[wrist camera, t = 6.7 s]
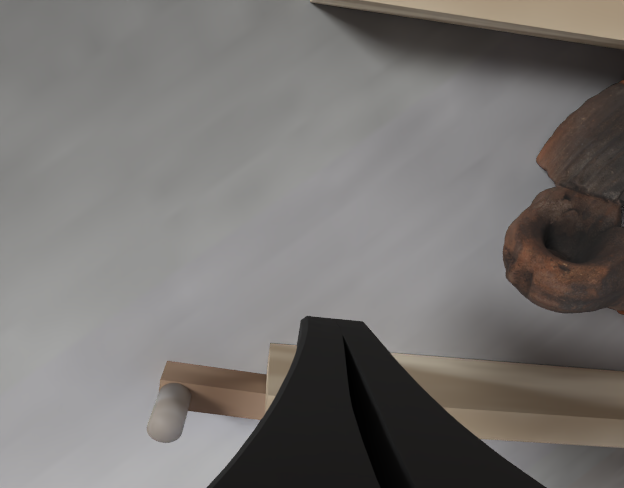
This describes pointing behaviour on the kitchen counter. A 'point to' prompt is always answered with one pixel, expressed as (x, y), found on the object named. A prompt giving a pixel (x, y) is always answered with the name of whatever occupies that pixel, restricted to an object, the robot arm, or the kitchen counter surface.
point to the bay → (493, 374)
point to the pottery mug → (575, 215)
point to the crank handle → (204, 397)
